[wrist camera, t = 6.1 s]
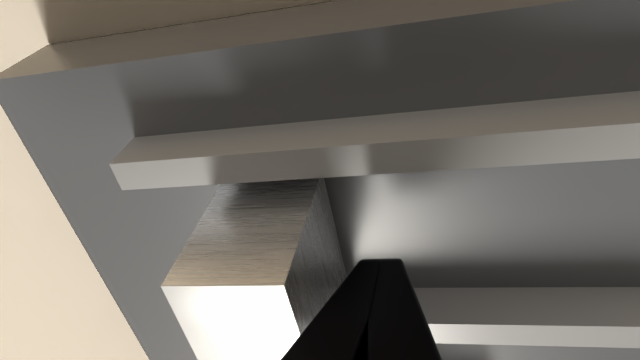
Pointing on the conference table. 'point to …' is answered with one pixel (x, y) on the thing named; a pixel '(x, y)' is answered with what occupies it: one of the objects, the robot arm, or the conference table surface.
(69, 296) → the conference table surface
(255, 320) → the block
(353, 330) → the robot arm
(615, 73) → the control panel
